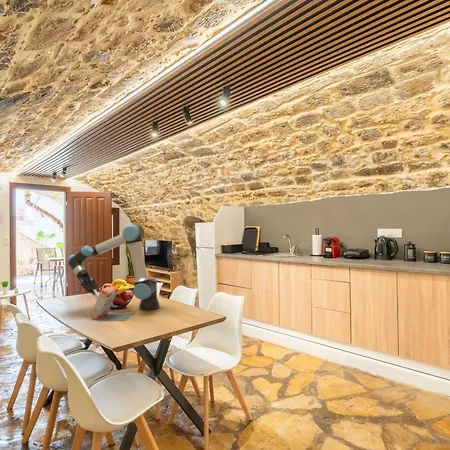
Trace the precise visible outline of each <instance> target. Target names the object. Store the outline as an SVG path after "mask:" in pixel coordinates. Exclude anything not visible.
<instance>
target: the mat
mask: <svg viewBox="0 0 450 450" xmlns="http://www.w3.org/2000/svg"><path fill="white" fill-rule="evenodd" d="M133 315H135V312H108V313H107V315H104V316H102V317H100V318H99V319H97V322H126V321H127V320H129V319H130V318H131V317H132V316H133ZM129 317H130V318H129Z"/></svg>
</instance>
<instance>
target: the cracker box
mask: <svg viewBox="0 0 450 450" xmlns="http://www.w3.org/2000/svg"><path fill="white" fill-rule="evenodd" d="M118 291H119V288H117V287H115V286H114V285H110V286H107V287H105V288H104V287H103V288H102V289H101V290H100V292H99V293H98V294H99V296H98V299H96V302H95V303H94V305H93V308H92V309H91V312H90V314H89V317H91V318H93V319H95V320H99V319H101V318H103V317H104V316H106V315H107V314H109V311H110V309H111V307H112V304H113V302H114V300H115V298H116V296H117V293H118Z"/></svg>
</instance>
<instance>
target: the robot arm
mask: <svg viewBox="0 0 450 450" xmlns="http://www.w3.org/2000/svg"><path fill="white" fill-rule="evenodd" d="M144 235H145V229H144V228H143V226H141V225H139V224H133V223H132V224H128V225H126V226H124V228H123V229H122V233H120V234H118V235H116V236H113V237H112V238H109V239H108V240H105V241H102V242H100V243H98V244H96V245H94V246H90V245H84V246H83V247H82V248H81V249H80V250H79V251H78V252H77V253H76V254H71V255H69V256H68V257H67V258H66V263H67V265H68V266H69V267H70V268H71V270H72V272H73V273H74V275H75V276H76V277H77V279H78V280H79V281H78V282H77V283H78V284H79V285H80V286H81V287H83V289H84V290H85V291H86V292H88V293H89V294H91V295H92V296H94V298H95V299H96V300H97V299H98V296H99V294H100V293H99V292H98V290H97V289H99V288H98V285H97V283H96V280H95V277H91V276H90V274H89V272H88V271H87V270H86V268H85V266H84V265H83V263H84V262H85V261H86V260H87V259H91V258H95V257H97V256H99V255H101V254H104V253H106V252H109V251H111V250H112V249H115V248H117V247H120V246H122V245H125V244H126V246H128V248H129V253H130V259H131V263H132V269H133V275H134V281H133V284H134V285H133V286H134V288H133V294H134V297H135V298H137V299H138V300H140V303H139V305H138V306H139V307H138V309H139V310H140V311H145V312H146V311H147V312H149V311H154V310H159V309H160V302H159V299H158V291H157V289H158V286H157V285H158V282H157V278H156V277H154V278H153V277H150V276H148V272H147V268H146V263H145V257H144V254H143V247H142V243H143V238H144Z"/></svg>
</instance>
